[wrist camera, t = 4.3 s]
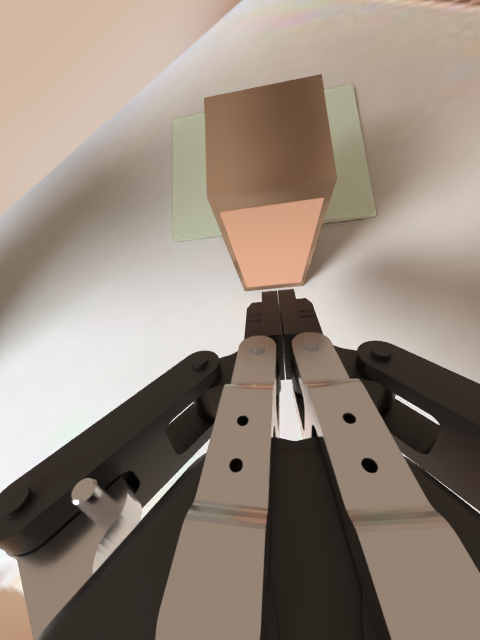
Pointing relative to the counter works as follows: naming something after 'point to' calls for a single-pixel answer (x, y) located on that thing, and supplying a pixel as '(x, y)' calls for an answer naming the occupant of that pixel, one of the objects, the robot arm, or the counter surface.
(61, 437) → the counter surface
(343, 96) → the mat
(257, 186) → the walnut block
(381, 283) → the counter surface
